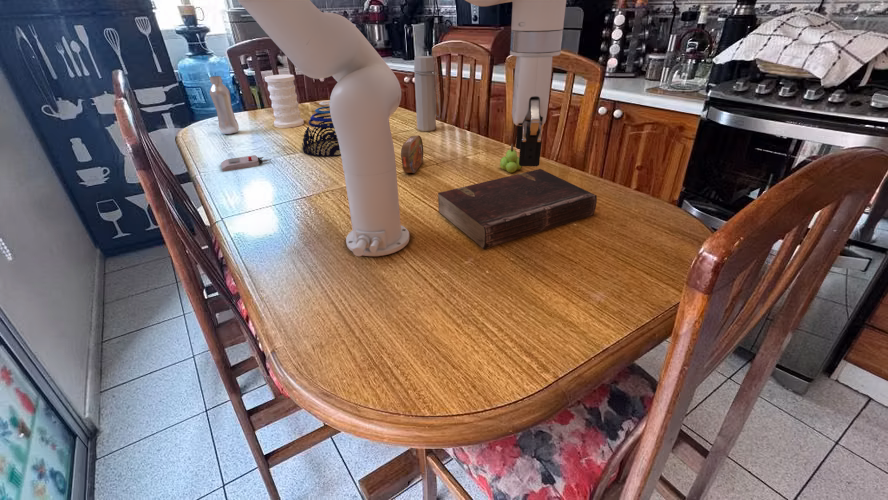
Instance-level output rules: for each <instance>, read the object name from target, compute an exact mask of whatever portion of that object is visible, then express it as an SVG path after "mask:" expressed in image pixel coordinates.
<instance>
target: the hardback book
mask: <svg viewBox="0 0 888 500" xmlns="http://www.w3.org/2000/svg"><path fill="white" fill-rule="evenodd" d="M597 198H598V197H597V195H596V194H594V193H593V192H590V191H588V190H586V189H584V188H582V187H579V186H578V185H575V184H573V183H572V182H569V181H567V180H565V179H563V178H560V177H559V176H557V175H554V174H552V173H550V172H548V171H546V170H544V169H541V168H539V169H534V170H530V171H525V172H521V173H517V174H512V175H509V176H504V177H499V178H495V179H491V180H487V181H482V182H479V183H474V184H470V185H466V186H462V187H457V188H453V189H449V190H448V189H447V190H444V191H440V192H438V193H437V201H438V213H439V214H441V216H443V217H444V218H445V219H447V220H448V221H449V222H450V223H452V224H453V225H454V226H455V227H456V228H458V229H459V230H460V231H461V232H463V233H464V234H465V235H466V236H467V237H468V238H470V239H471V240H472V241H474V243H476V245H478V246H479V247H481V248H482V249H484V250H485V249H488V248H492V247H495V246H498V245H501V244H504V243H507V242H511V241H514V240H517V239H520V238H521V239H522V238H523V237H527V236H531V235H533V234H536V233H540V232H543V231H546V230H549V229H552V228H556V227H559V226H562V225H565V224H568V223H572V222H574V221H578V220H581V219H585V218H588V217H591V216H593V215H594V213H595V212H596V207H597V203H598V202H597V201H598V199H597Z"/></svg>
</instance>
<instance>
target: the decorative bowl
mask: <svg viewBox="0 0 888 500" xmlns="http://www.w3.org/2000/svg"><path fill="white" fill-rule="evenodd" d="M318 105H319V106H321V107H318V108H316V109H314V112H315V113H314V114H312V115H311V116H310V118H309V120H308V122H307V123H308V125H309V126H307V127H306V129H305V131H304V134H303V138H302V143H301V147H302V151H303V153H304V154H306V155H308V156H311V157H318V158H319V157H321V158H322V157H324V158H329V157H341V153H339V154H336V152H340V147H339V143H338V139H337V135H336V132H335V129H334V125H333V122H332V119H331V114H330V110H324V109H330V100H325V101H320V102H318ZM328 114H329V115H328ZM312 122H318V123H312ZM310 127H312V130H310ZM328 150H329V151H328Z"/></svg>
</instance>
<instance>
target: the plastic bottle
mask: <svg viewBox="0 0 888 500" xmlns="http://www.w3.org/2000/svg"><path fill="white" fill-rule="evenodd" d="M208 78H209V82H210V84H211V86H210V88H209V96H210V98H211V101H212V102H213V105H214V108H215V110H216V115H217V120H218V128H219V130H220V133H222V134H224V135H226V134H227V135H232V134H235V133H237V132H239V129H240V126H239V122H238V121H237V119H236V116H235V113H234V110H233V107H232V99H231V92H230V90H229V88H228V87H227V86H226V85H225V84H224V83H223V80H222V76H221V75H214V76H209V77H208Z"/></svg>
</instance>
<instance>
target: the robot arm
mask: <svg viewBox="0 0 888 500" xmlns="http://www.w3.org/2000/svg"><path fill="white" fill-rule="evenodd" d="M236 1H237V3H239V4H240V5H241V7H242V8H244V10H245V11H246V12H247V13H248V14H249V15H250V16H251V18H252V19H253V20H254V21H255V22H256V23H257V24H258V26H259V27H260V28H261V29H262V30H263V32H264V33H265V35H267V36H268V37H269V38H270V39H271V41H272V42H273V43H274V44H275V45H276V46H277V47H278V48H279V50H280V51H281V52H282V53H283V54H284V55H285V56H286V57H287V59H288V60H289V61H290V62H291V63H292V64H293V66H294V67H295V68H296V69H297V70H298V71H299V72H300V73H301V74H303V75H304V76H306V77H308V78H310V79H314V80H321V79H322V80H323V79H327V78H330V77H332V78H333V79H334V80H335V81H336V84H335V85H334V87H333V89H332V90H331V93H330V97H329V101H330V105H329V106H330V108H329V111H330V113H329V115H331V117H330V118H331V119H332V122H331V123H333V125H334V128H333V130H335V132H336V134H335V135H337V139H336V140H338V143H337V144H338V145H339V147H340V150H339V152H340V154H341V156H340V158H341V165H342V170H343V176H344V182H345V189H346V195H347V202H348V209H349V216H350V222H351V228H352V230H351V231H349V232H348V234H347V236H346V238H345V245H346V247H347V249H348V250H349V251H350V252H352V254H353V255H354V256H356V257H362V256H364V257H365V256H366V257H383V256H387V255H391V254H394V253H397V252H399V251H401V250H403V249H404V248H405V247H406V246H407V245H408V244H409V242H410V232H409V229H408V228H407V227H405V226H404V225H402V222H401V210H400V209H401V208H400V199H399V198H400V197H399V186H398V185H399V184H398V173H397V164H396V163H397V162H396V153H395V145H394V139H393V134H392V131H391V125H390V118H391V117H392V116H393V114H394V113H395V112H396V111H397V110H398V108H399V107H400V104H401V101H402V88H401V84H400V81H399V79H398V77H397V76H396V74H395V73H394V71H393V70H392V68H391V67H390V66H389V65H388V64H387V62H386V61H385V60H384V59H383V58H382V56H381V55H380V54H379V52H378V51H377V50H376V49H375V48H374V46H373V45H372V43H370V41H369V40H368V38H366V37H365V35H364V34H363V33H362V32H361V31H360V29H359V28H358V27H357V26H356V25H355V24H354V23H353V22H352V21H350V20H349V19H348V18H346V17H345V16H343V15H341V14H338V13H335V12H327V11H326V12H323V11H321V10H320V9H319V8H318V7H317V6H316V5H315V4H314V3H313V2H312V1H311V0H236ZM464 1H465V2H467V3H469V4H471V5H473V6H475V7H476V6H477V7H490V6H491V7H492V6H496V5H499V4H500V5H501V4H505V3H512V5H511V6H512V7H511V8H512V9H511V27H510V28H511V31H510V45H509V50H510V51H509V56H513V57H516V60H515V65H514V66H515V67H514V75H513V76H514V77H513V90H512V103H511V104H512V106H511V117H512V118H511V119H512V123H513V124H514V125H515V126H517V127H516V140H515V148H516V149H517V150H519V156H518V157H519V165H520V166H522V167H539V166H540V161H541V150H542V126H543V125H544V124H546V122H547V116H548V109H549V100H550V91H551V79H552V68H553V57H556V56H558V57H559V56H560V55H561V54H562V53H561V51H562V43H563V35H564V27H565V26H564V25H565V24H564V23H565V15H566V7H567V0H464Z"/></svg>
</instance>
